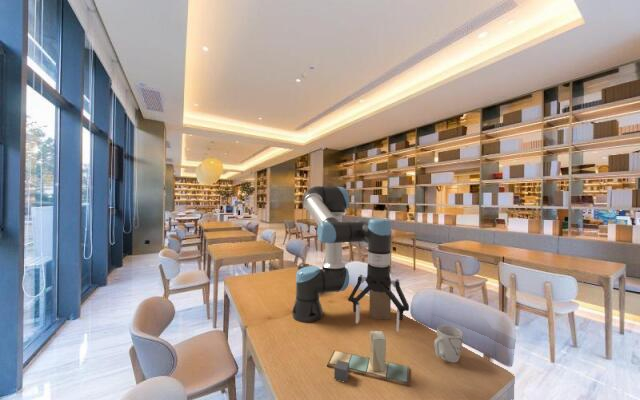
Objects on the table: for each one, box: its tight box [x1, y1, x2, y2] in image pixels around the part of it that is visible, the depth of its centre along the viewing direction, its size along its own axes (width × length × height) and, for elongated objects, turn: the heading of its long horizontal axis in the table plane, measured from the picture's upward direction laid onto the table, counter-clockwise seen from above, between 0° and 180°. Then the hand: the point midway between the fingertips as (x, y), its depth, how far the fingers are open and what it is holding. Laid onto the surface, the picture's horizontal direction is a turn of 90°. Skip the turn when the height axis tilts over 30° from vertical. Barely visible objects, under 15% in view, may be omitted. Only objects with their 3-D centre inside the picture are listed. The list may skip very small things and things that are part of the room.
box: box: [369, 330, 387, 371], centre depth 86 cm, size 5×4×11 cm
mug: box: [433, 324, 464, 364], centre depth 92 cm, size 11×8×10 cm
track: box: [326, 349, 410, 387], centre depth 87 cm, size 27×9×1 cm, turn 71°
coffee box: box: [297, 263, 310, 271], centre depth 159 cm, size 9×6×16 cm
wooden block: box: [368, 277, 392, 321], centre depth 127 cm, size 10×10×20 cm
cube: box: [333, 360, 350, 383], centre depth 82 cm, size 4×4×4 cm
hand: (377, 325), depth 87 cm, fingers open, 13 cm apart
